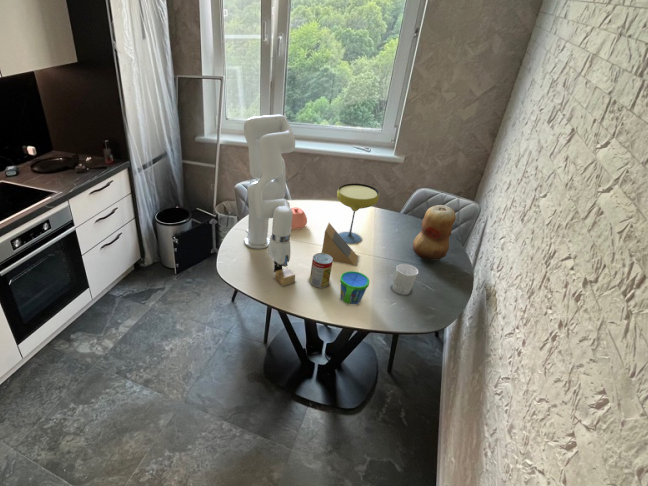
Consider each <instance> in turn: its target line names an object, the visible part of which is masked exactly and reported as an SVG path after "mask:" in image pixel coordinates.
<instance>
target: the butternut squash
mask: <svg viewBox="0 0 648 486" xmlns="http://www.w3.org/2000/svg"><path fill="white" fill-rule="evenodd" d="M456 219H457V216H456V212H455V210H454V209H453V208H452V207H449V206H448V205H444V204H436V205H433V206H431V207H428V209H427V210H426V212H425V213H424V216H423V219H422V221H421V229H420V232H419V233H418V234H417V235H416V237H415V238H414V239H413V241H412V249H413V253H414V254H415V255H416V256H417V257H419V258H421V259H422V260H425V261H438V260H442V259H443V258H445V257H446V256H447V253H448V252H449V249H450V236H451V235H452V230H453V226H454V223H455V222H456Z"/></svg>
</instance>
